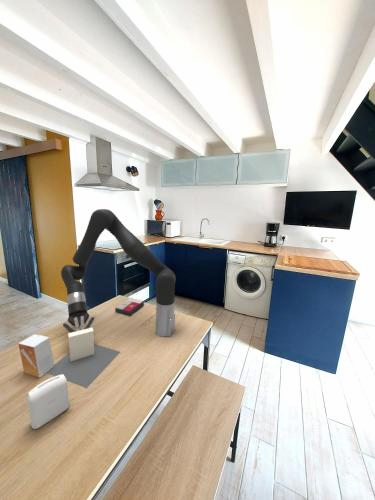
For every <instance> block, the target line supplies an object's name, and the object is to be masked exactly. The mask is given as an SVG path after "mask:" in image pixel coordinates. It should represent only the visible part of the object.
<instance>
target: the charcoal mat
mask: <svg viewBox="0 0 375 500" xmlns="http://www.w3.org/2000/svg"><path fill="white" fill-rule="evenodd" d="M120 353H121V351H119V350H116V349H113V348H110V347H106V346H102V345H99V344H95V343H94V354H93V355H90V356H87V357H83V358H80V359H77V360H74V361H71V360H70V352H68V353H67V354H66V355H65V356H63V357H62V358H61V359H59V360H58V361H57V362H56V363H54V367H53V368H52V369H50V370H49V371H48V372H46V373H45V374H48V375H50V376H53V377H55V376H58V375H62V374H64V376H65V378H66V379H67V382H69V383H71V384H75V385H77V386H79V387H83V388H85V389H88V387H89V386H90V385H91V384H93V382H94V381H95V380H96V379H97V378H98V377H99V376H100V375H101V374H102V373H103V372H104V370H106V368H108V367H109V365H110V364H111V363H112V362H113V361H114V360H115V359H116V357H118V356H119V354H120Z"/></svg>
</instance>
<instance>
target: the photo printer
mask: <svg viewBox="0 0 375 500" xmlns="http://www.w3.org/2000/svg"><path fill="white" fill-rule="evenodd" d="M26 399H27V408H28V414H29V420H30V426H31V428H32V429H34V430H38V429H39V428H40V427H42V426H44V425H45V424H47V423H48V422H50V421H52V420H53V419H55V418H56V417H57V416H60V414H62V413H63V412H65V411H66V410H67V409H69V407H70V399H69V389H68V381H67V379H66V378H65V376H64V374H62V375H58V376H53V377H50V378H49V379H46V380H44V381H42V382H41V383H39V384H37V385H36V386H35V387H33V388H32V389H31V390H30V391H29V392H28V393H27V398H26Z"/></svg>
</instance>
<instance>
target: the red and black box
mask: <svg viewBox="0 0 375 500" xmlns="http://www.w3.org/2000/svg"><path fill="white" fill-rule="evenodd" d="M143 307H145V301H143V300H140V299H137V298H133V297H129V298H128V299H126V300H124V301H123V302H121V303H120V304H119V305H118V306H116V307H115V308H114V310H115V311H114V312H115V313H117V314H120V315H123V316H127V317H131V316H133V315H135V313H137V312H138V311H140V310H141V309H142V308H143Z"/></svg>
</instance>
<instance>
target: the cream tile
mask: <svg viewBox="0 0 375 500" xmlns="http://www.w3.org/2000/svg"><path fill="white" fill-rule="evenodd" d="M79 330H80V331H76V330H75V331H76V332H72V333H70V332H68V333H67V335H68V347H69V353H70V360H71V361H74V360H77V359H80V358H83V357H87V356H90V355H93V354H94V344H95V341H94V340H95V339H94V338H95V336H94V327H89V328H88V329H84V330H81V329H79Z"/></svg>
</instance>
